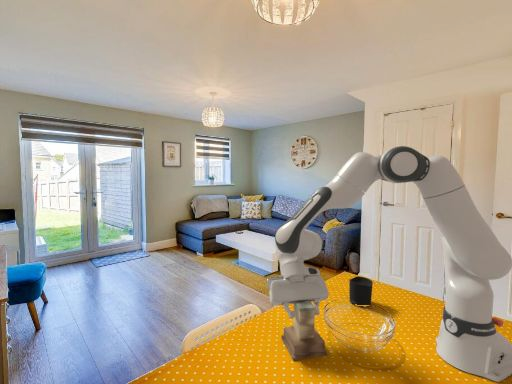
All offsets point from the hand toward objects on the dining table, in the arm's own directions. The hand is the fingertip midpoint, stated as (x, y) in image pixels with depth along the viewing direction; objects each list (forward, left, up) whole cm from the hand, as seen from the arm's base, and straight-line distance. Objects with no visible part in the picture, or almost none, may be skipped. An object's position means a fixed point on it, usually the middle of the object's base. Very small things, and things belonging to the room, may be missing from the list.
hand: (304, 316), depth 85 cm
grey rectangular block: (0, -1, -6) cm, 6 cm away
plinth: (0, -1, -10) cm, 10 cm away
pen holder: (-36, -23, -11) cm, 44 cm away
